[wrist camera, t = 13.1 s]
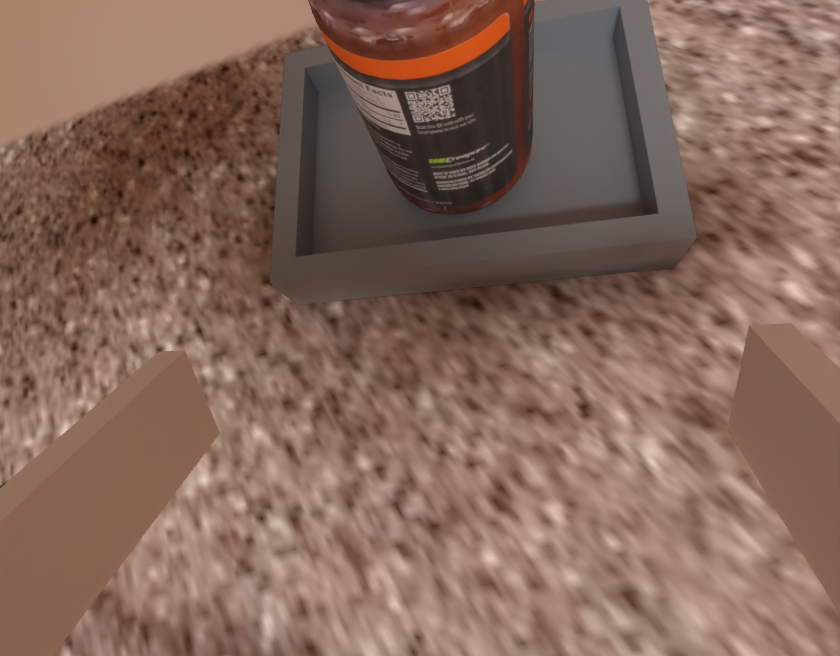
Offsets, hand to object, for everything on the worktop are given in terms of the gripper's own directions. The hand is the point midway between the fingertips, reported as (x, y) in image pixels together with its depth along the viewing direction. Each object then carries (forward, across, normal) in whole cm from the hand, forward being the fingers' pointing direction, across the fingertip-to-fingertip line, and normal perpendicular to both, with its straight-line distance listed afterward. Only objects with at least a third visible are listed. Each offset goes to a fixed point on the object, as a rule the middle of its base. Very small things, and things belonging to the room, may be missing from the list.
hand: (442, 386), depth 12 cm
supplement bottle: (+12, 0, +3) cm, 12 cm away
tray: (+12, 0, +3) cm, 12 cm away
